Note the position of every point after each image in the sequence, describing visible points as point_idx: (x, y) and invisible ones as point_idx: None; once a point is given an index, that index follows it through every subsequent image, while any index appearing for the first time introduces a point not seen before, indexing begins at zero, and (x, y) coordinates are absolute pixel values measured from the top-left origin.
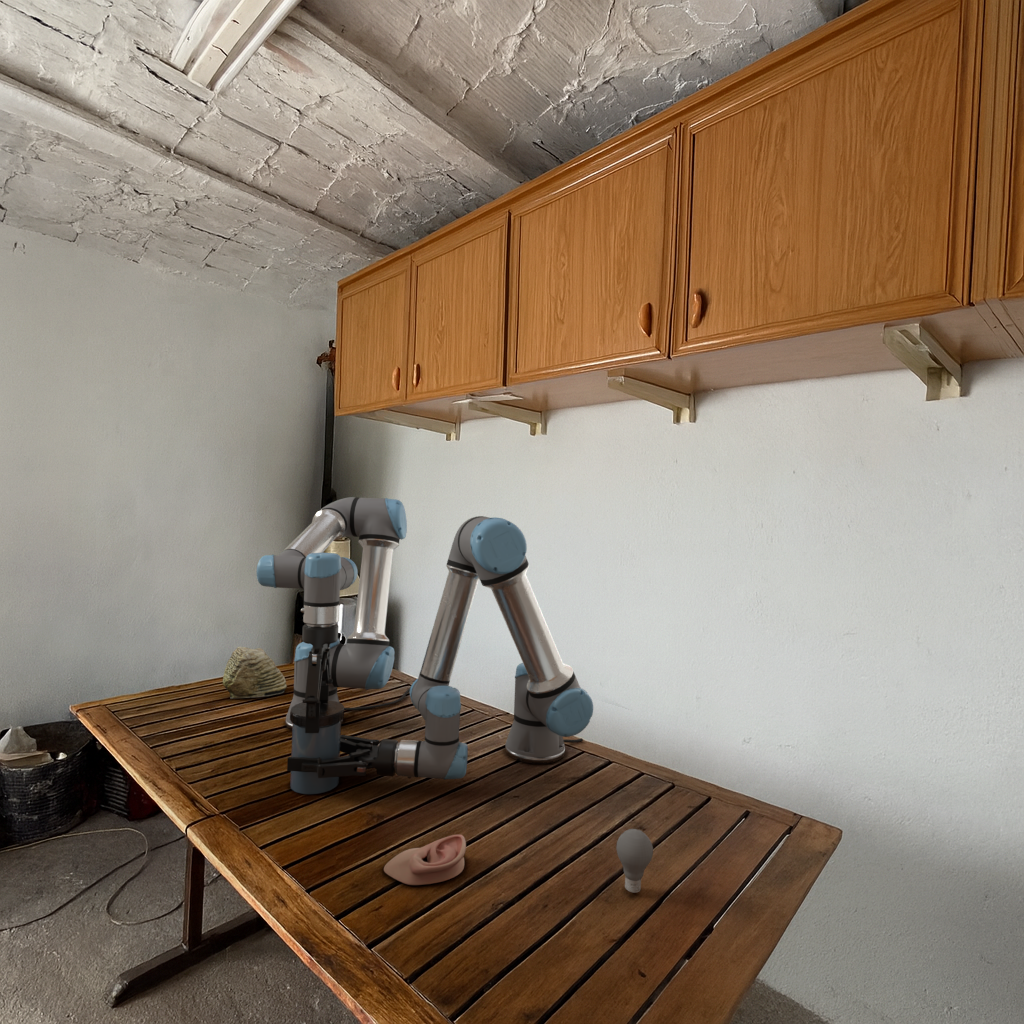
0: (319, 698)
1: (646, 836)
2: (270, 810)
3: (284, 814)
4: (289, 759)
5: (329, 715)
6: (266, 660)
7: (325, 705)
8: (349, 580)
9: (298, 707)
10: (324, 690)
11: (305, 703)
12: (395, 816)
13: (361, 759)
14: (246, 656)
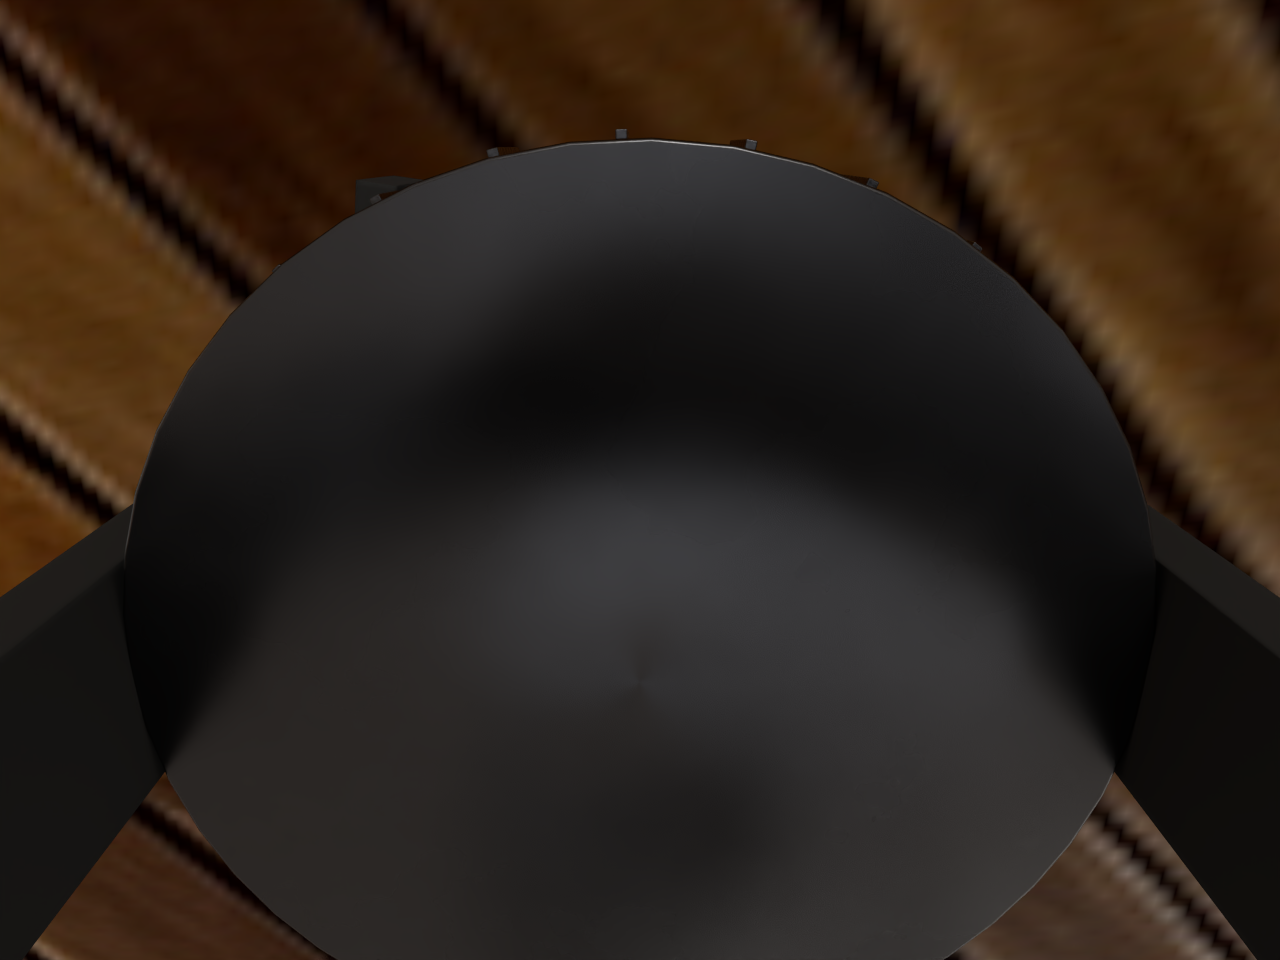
0: (1174, 656)
1: None
2: (189, 102)
3: (145, 225)
4: (362, 202)
5: (267, 903)
6: None
7: (786, 787)
8: None
9: (674, 305)
10: (1264, 867)
11: (957, 404)
12: (211, 859)
13: None
14: None
